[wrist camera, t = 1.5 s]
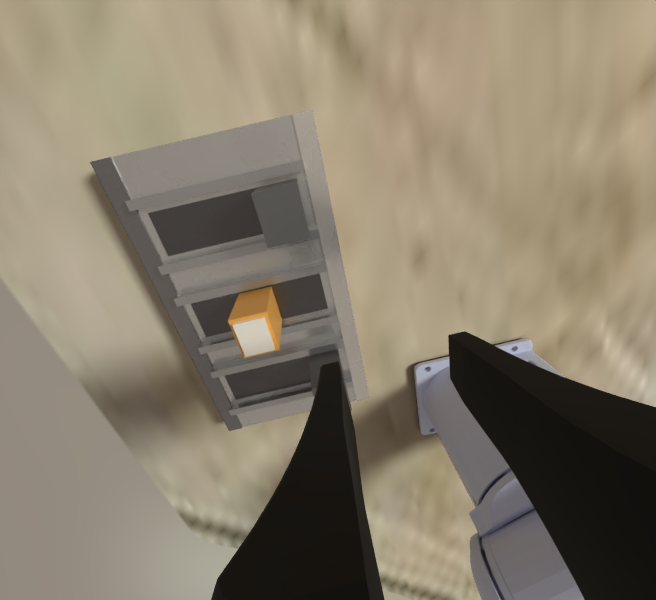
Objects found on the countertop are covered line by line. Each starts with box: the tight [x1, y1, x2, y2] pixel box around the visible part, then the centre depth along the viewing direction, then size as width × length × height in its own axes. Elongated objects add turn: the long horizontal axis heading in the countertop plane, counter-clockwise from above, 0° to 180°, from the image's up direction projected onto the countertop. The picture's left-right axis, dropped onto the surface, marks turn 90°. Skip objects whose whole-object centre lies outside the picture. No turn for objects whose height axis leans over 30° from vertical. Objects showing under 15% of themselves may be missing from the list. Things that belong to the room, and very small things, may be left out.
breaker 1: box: [251, 178, 310, 248], centre depth 14 cm, size 2×2×3 cm
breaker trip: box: [228, 286, 282, 358], centre depth 17 cm, size 2×2×4 cm
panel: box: [90, 110, 369, 431], centre depth 19 cm, size 11×19×2 cm, turn 12°
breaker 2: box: [309, 349, 352, 411], centre depth 19 cm, size 2×2×3 cm
